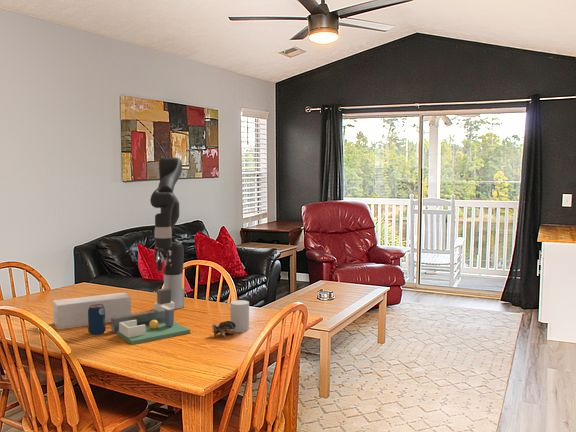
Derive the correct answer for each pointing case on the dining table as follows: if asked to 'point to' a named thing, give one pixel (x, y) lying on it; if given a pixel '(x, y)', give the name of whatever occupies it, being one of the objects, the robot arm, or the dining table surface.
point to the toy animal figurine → (223, 328)
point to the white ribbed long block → (77, 308)
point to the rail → (139, 319)
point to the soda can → (96, 319)
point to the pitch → (157, 333)
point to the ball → (154, 324)
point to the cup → (239, 315)
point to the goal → (131, 328)
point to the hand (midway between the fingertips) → (163, 272)
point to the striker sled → (165, 305)
